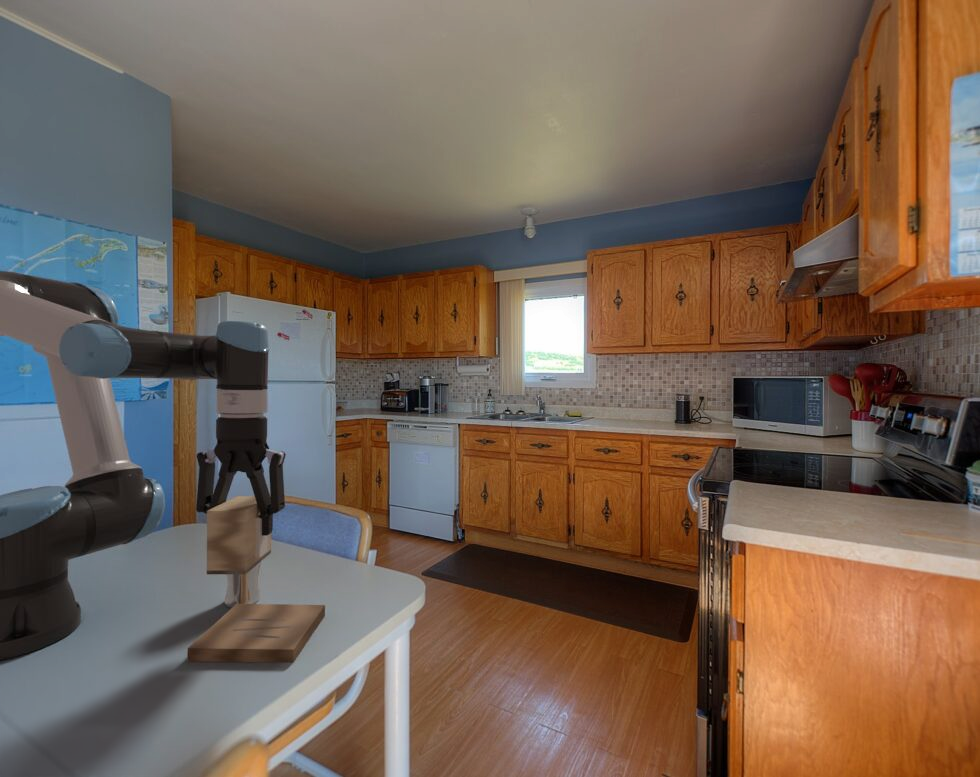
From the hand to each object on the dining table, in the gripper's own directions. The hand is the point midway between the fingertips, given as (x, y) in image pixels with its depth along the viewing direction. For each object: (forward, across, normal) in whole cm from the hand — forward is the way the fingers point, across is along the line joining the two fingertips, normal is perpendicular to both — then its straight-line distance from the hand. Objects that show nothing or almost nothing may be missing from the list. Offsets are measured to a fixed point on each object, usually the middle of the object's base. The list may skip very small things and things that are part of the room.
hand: (240, 553), depth 76 cm
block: (+1, 0, 0) cm, 1 cm away
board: (+14, +4, 0) cm, 14 cm away
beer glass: (+14, -6, +12) cm, 20 cm away
